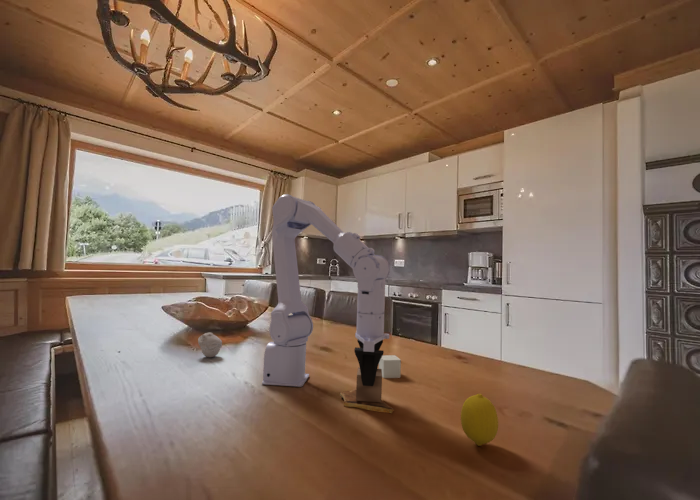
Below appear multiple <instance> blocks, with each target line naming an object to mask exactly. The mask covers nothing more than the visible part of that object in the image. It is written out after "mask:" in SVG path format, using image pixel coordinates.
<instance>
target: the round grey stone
mask: <svg viewBox="0 0 700 500" xmlns="http://www.w3.org/2000/svg"><path fill="white" fill-rule="evenodd" d="M197 343H198V347H200V349H201V354H202V355H203V356H204V357H206V358H215V356H217V355H218V354H219V352H220V350H221V349H222V346H223V340H221V338H220V337H218V336H217V335H216V334H214V333H213V332H205V333H204V334H202V335H200V336H199V337H198V339H197Z"/></svg>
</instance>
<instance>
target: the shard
mask: <svg viewBox="0 0 700 500" xmlns="http://www.w3.org/2000/svg"><path fill="white" fill-rule="evenodd" d="M339 396H341V398H342V399H343V400H344V401H343V406H344V407H348V408H358V409H362V410H368V411H373V412H379V413H385V414H386V413H387V414H393V412H394V411H395V408H393V407H392V406H390V405H389V404H387V403H386V402H385V401H383V400H382V399H381V402H367V401H356V389H354V390H353V389H352V390H347V391H346V390H345V391H341V392H340V393H339Z"/></svg>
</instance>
